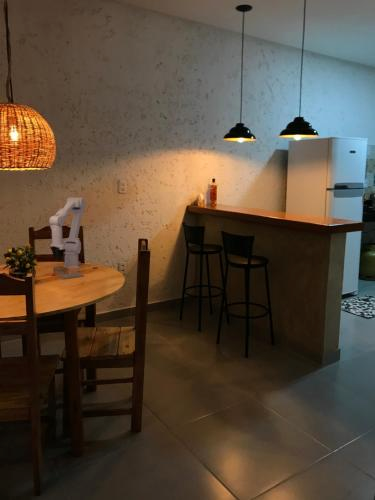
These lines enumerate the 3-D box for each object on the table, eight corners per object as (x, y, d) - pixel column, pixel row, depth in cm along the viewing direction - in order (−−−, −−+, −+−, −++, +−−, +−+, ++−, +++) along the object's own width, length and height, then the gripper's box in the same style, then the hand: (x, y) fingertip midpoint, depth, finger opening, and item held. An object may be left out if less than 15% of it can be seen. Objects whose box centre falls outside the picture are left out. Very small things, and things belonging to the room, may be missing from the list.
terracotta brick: (67, 273, 242) (67, 266, 241) (75, 272, 245) (75, 265, 244) (70, 274, 239) (70, 268, 238) (78, 273, 241) (77, 267, 240)
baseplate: (58, 276, 234) (58, 275, 233) (79, 273, 240) (79, 272, 240) (62, 279, 228) (62, 278, 228) (83, 276, 235) (83, 275, 234)
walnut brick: (53, 273, 240) (53, 266, 240) (61, 272, 243) (61, 266, 242) (56, 275, 237) (55, 268, 236) (63, 274, 239) (63, 267, 239)
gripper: (46, 235, 239) (47, 258, 242) (54, 239, 228) (55, 262, 230) (58, 234, 243) (59, 256, 246) (66, 238, 231) (67, 261, 234)
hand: (58, 259), depth 238 cm, fingers open, 7 cm apart
